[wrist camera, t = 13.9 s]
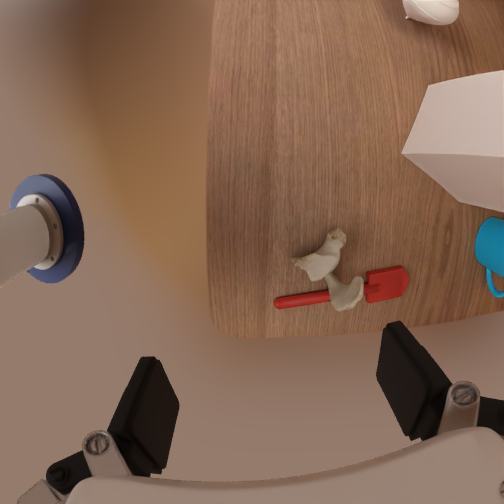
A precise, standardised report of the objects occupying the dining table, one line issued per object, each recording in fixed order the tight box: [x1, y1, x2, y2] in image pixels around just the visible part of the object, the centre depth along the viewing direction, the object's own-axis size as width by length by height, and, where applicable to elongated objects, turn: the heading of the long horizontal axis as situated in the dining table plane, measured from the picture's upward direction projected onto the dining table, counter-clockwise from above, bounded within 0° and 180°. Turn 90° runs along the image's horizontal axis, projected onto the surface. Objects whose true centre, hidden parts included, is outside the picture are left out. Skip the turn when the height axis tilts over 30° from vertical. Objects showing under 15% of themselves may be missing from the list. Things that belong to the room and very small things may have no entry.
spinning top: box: [402, 0, 459, 25], centre depth 16 cm, size 8×8×12 cm
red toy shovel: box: [274, 266, 408, 309], centre depth 33 cm, size 18×4×1 cm, turn 99°
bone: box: [291, 227, 364, 312], centre depth 29 cm, size 9×6×10 cm
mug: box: [475, 217, 504, 298], centre depth 28 cm, size 12×8×8 cm
